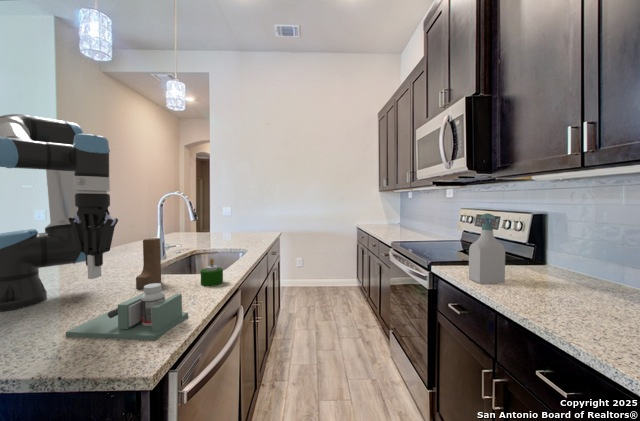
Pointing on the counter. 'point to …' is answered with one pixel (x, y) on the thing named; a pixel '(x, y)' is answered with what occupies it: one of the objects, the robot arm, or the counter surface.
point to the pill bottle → (150, 301)
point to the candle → (211, 275)
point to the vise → (162, 321)
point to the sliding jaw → (128, 312)
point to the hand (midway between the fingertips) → (94, 277)
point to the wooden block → (150, 263)
